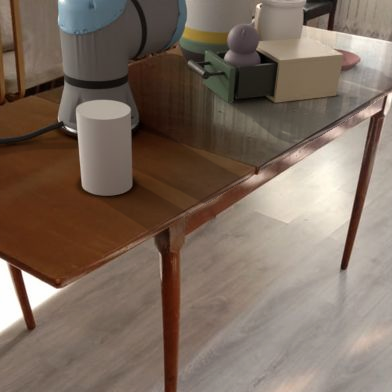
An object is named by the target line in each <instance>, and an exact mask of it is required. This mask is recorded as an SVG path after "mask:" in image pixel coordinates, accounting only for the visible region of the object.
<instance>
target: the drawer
mask: <svg viewBox="0 0 392 392" xmlns="http://www.w3.org/2000/svg"><path fill="white" fill-rule="evenodd" d="M255 51H256V52H257V53H258V55H259V56H260V60H261V63H260V64H257V65H246V66H238V75H237V88H236V89H234V83H235V70H236V68H235V67H234V66H232V65H231V64H229V63H228V62H226V61H225V60H224V57H225V55H226V53H227V52H228V51H223V52H217V55H216V54H214V53H213V52H211V51H205V61H204V62H195V61H193V60H189V61H187V65H186V66H187V68H189V69H190V70H192V71H193V72H194V73H196V75H198V76H199V77H201V78H202V79H203V85H205V86H206V87H207V88H209V89H210V90H211V91H212V92H214V93H215V94H216V95H218V96H219V97H220V98H221V99H223V101H224V102H226V103H234V98H235V99H237V100H239V99H248V98H258V97H266V96H267V95H274V91H275V83H276V75H277V67H278V63H277V62H275V61H274V60H272V59H270V58H269V57H267V56H266V55H264V54H262V53H261V52H259V51H257V50H255ZM201 65H204V67H201Z"/></svg>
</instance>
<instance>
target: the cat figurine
mask: <svg viewBox="0 0 392 392" xmlns="http://www.w3.org/2000/svg"><path fill="white" fill-rule="evenodd" d="M254 25H255V21H252V23H251V24H250V25H249V24H239V25H237V26H235V27H234V28H232V29H231V31H230V33H229V35H228V39H227V43H228V46H229V48H230V50H229V51H228V52H227V53H226V55H225V57H224V60H225V61H226V62H228V63H229V64H231V65H232V66H234V67H235V68H236V70H235V83H234V89H236V88H237V75H238V66H246V65H257V64H260V63H261V60H260V56H259V55H258V53H257V52H256V51H255V50H256V49H257V47H258V44H259V34H258V32H257V30H256V29H255V28H254Z"/></svg>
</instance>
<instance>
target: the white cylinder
mask: <svg viewBox="0 0 392 392" xmlns="http://www.w3.org/2000/svg"><path fill="white" fill-rule="evenodd" d="M76 118H77V130H78V138H77V141H78V154H79V166H80V177H81V187H82V189H83V190H84V191H85V192H88V193H90V194H92V195H96V196H104V197H106V196H109V197H110V196H111V197H112V196H116V195H121V194H124V193H127V192H128V191H129V190H131V189H132V187H133V149H132V146H133V145H132V134H131V109H130V107H129V106H128V105H126V104H124V103H122V102H118V101H113V100H93V101H88V102H84V103H82V104H80V105H78V106H77V108H76Z"/></svg>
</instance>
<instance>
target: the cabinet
mask: <svg viewBox="0 0 392 392" xmlns="http://www.w3.org/2000/svg"><path fill="white" fill-rule="evenodd" d="M334 49H335V48H332V47H330V46H328V45H326V44H324V43H322V42H320V41H319V40H316V39H315V38H313V37H311V36H310V37H300V38H296V39H283V40H270V41H259V44H258V47H257V49H256V50H257V51H259V52H261V53H262V54H264V55H266V56H267V57H269V58H270V59H272V60H274V61H275V62H277V63H278V67H277V75H276V83H275V91H274V95H267V96H265V97H266V98H267V99H269V100H270V101H272V102H274V103H277V104H278V103H284V102H293V101H300V100H301V101H302V100H309V99H310V100H311V99H318V98H326V97H328V98H329V97H336V96H337V94H338V88H339V82H340V77H341V72H342V71H341V67H342V62H343V56H344V54H342V53H340V52H338V51H336V50H334Z"/></svg>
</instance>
